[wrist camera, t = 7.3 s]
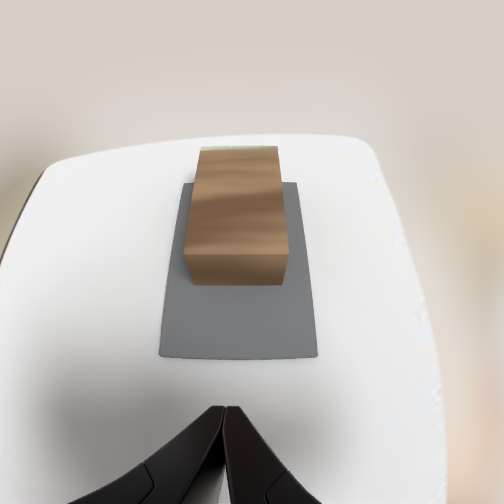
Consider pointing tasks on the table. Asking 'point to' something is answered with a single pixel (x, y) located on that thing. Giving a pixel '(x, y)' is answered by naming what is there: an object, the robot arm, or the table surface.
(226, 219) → the walnut block
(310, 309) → the felt mat
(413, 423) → the table surface
